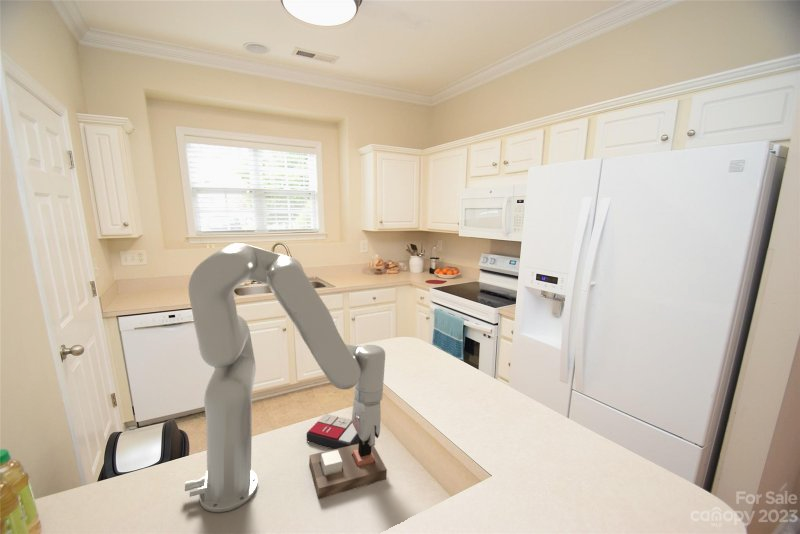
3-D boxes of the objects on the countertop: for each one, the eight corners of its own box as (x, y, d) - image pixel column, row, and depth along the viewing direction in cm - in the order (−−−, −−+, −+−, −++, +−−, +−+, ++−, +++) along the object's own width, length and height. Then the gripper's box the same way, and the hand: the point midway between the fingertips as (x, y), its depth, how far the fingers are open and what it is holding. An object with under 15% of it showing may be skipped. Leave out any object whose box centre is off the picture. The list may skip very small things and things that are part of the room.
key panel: (318, 499, 81) (318, 488, 80) (309, 464, 91) (309, 455, 91) (386, 479, 88) (386, 469, 88) (370, 449, 99) (371, 440, 99)
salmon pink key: (357, 474, 89) (358, 461, 88) (352, 463, 93) (353, 450, 92) (373, 470, 91) (374, 457, 90) (367, 459, 95) (368, 446, 94)
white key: (324, 479, 85) (325, 465, 84) (320, 467, 89) (321, 453, 88) (341, 475, 87) (342, 461, 86) (337, 463, 91) (337, 449, 90)
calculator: (324, 411, 111) (366, 421, 106) (324, 423, 111) (365, 433, 107) (305, 430, 100) (350, 442, 96) (305, 443, 101) (350, 456, 96)
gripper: (347, 380, 93) (343, 439, 96) (364, 410, 80) (360, 477, 83) (371, 377, 97) (368, 434, 99) (392, 404, 83) (387, 469, 86)
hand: (364, 453), depth 91 cm, fingers closed
